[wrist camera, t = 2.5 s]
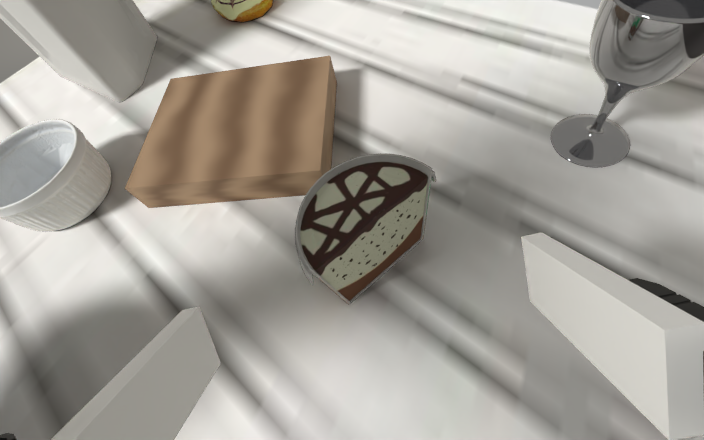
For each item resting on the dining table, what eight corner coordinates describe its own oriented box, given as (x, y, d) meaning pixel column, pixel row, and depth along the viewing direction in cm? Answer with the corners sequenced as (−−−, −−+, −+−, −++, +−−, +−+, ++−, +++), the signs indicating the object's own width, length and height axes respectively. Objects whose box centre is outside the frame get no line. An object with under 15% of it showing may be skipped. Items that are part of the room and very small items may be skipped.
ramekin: (7, 249, 43) (-60, 221, 37) (45, 165, 50) (-6, 130, 44) (107, 231, 42) (54, 198, 36) (132, 147, 48) (91, 108, 43)
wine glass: (597, 101, 38) (683, -60, 26) (654, 152, 34) (790, -12, 22) (530, 128, 38) (583, -22, 26) (579, 182, 34) (671, 35, 21)
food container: (390, 193, 37) (380, 123, 29) (434, 229, 34) (437, 164, 26) (297, 269, 35) (256, 217, 26) (336, 315, 32) (303, 274, 23)
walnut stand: (148, 207, 42) (124, 188, 39) (187, 102, 51) (170, 79, 48) (329, 193, 39) (320, 170, 35) (336, 82, 48) (330, 55, 44)
